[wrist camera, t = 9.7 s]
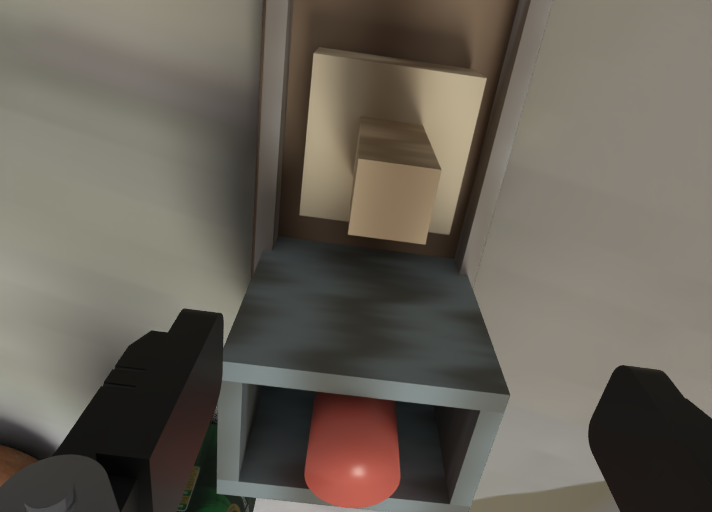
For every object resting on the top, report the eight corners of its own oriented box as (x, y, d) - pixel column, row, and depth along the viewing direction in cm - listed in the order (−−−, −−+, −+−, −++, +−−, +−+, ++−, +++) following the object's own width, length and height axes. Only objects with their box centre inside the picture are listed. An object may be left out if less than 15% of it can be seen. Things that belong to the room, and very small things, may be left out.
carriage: (474, 69, 26) (530, 108, 17) (441, 213, 30) (473, 306, 21) (319, 47, 26) (293, 75, 17) (305, 195, 29) (278, 282, 20)
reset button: (402, 380, 24) (408, 447, 20) (388, 440, 26) (391, 512, 22) (317, 370, 24) (308, 436, 20) (309, 432, 26) (300, 502, 22)
